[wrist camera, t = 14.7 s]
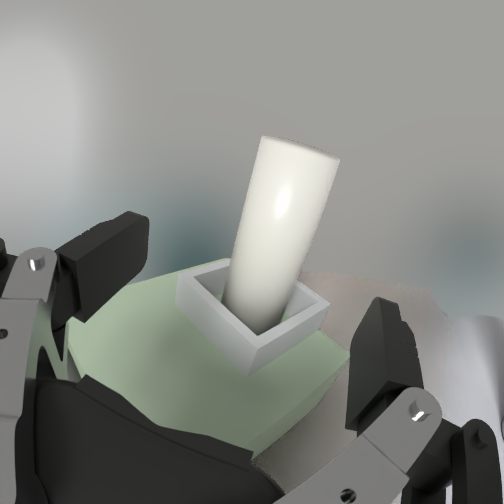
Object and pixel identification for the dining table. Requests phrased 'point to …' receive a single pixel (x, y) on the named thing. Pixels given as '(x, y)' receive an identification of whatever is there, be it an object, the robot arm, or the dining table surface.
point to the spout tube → (276, 229)
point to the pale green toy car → (207, 357)
